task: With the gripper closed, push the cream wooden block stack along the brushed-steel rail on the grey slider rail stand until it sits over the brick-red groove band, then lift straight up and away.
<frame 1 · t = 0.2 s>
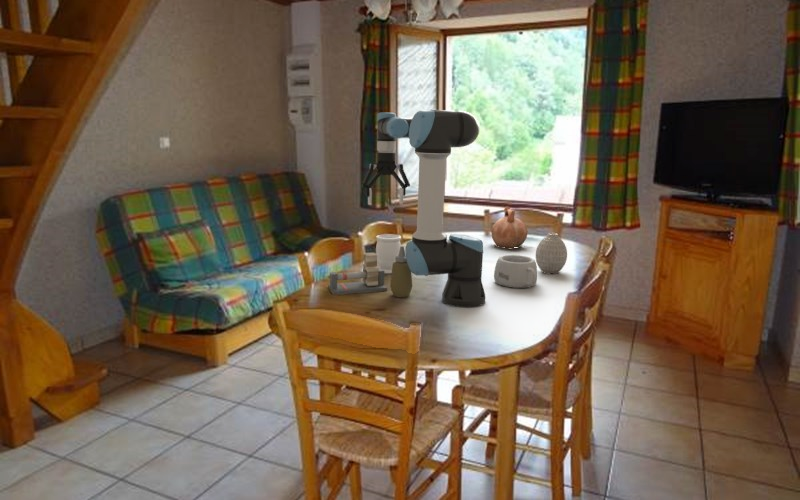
hand: (385, 204, 232), 28 cm above the table, fingers open, 13 cm apart
mug: (518, 285, 220), on the table
squeeze bottle: (401, 295, 203), on the table
jug: (508, 246, 288), on the table
cream wooden block stack: (370, 268, 210), point 7 cm above the table, slide at -5.0 cm
grey slider rail stand: (357, 288, 210), on the table
jar: (388, 271, 235), on the table
vase: (549, 272, 239), on the table
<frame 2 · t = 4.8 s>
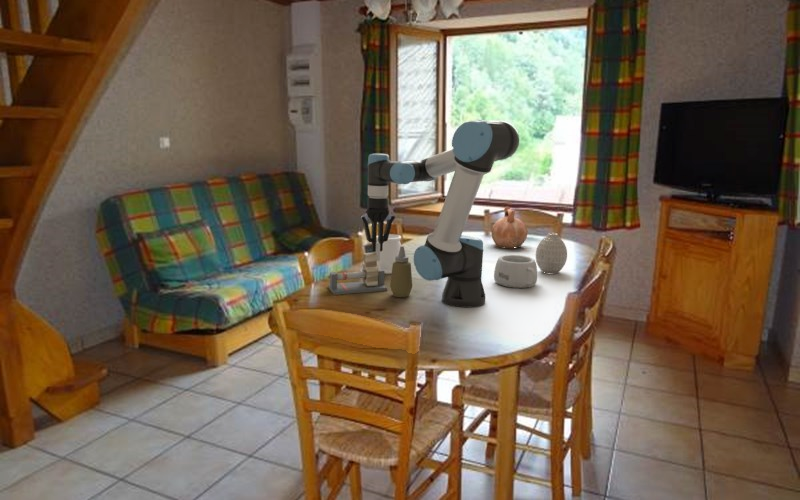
hand: (376, 259, 210), 11 cm above the table, fingers closed
cream wooden block stack: (370, 268, 210), point 7 cm above the table, slide at -4.8 cm, touching gripper
everything else where it was.
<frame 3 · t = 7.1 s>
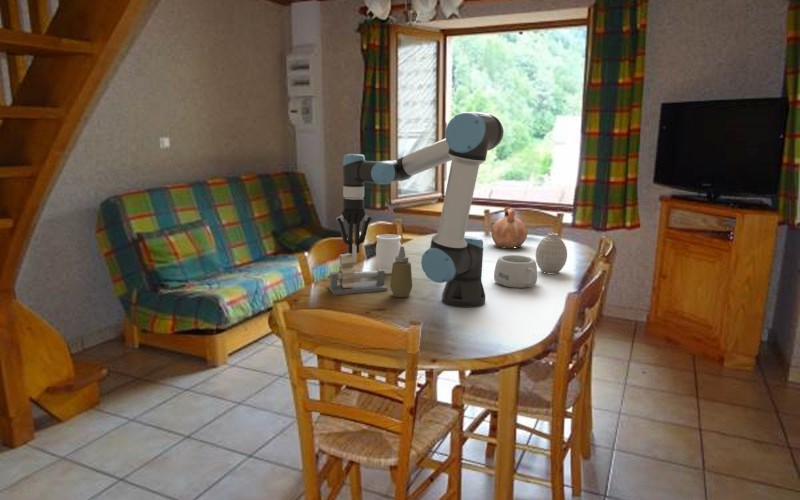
hand: (353, 261, 207), 10 cm above the table, fingers closed
cream wooden block stack: (346, 270, 207), point 7 cm above the table, slide at 4.2 cm, touching gripper
everything else where it was.
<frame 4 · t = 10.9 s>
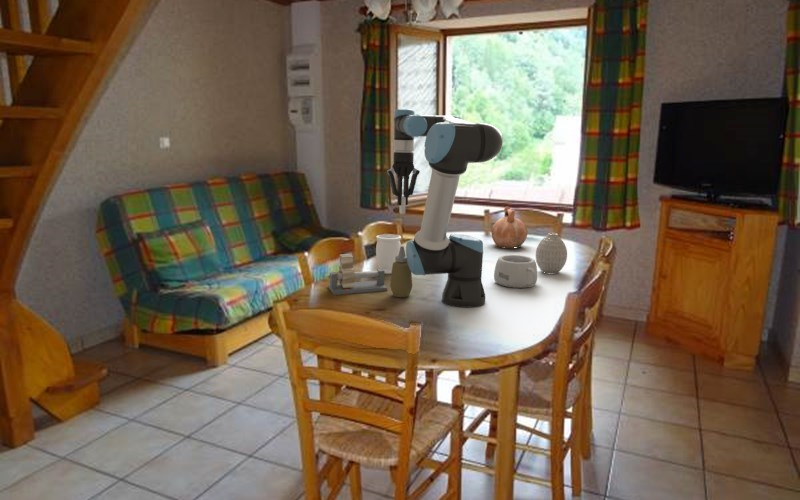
hand: (402, 213, 218), 26 cm above the table, fingers closed
cream wooden block stack: (346, 270, 207), point 7 cm above the table, slide at 4.2 cm
everything else where it was.
at the end: cream wooden block stack slide at 4.2 cm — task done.
